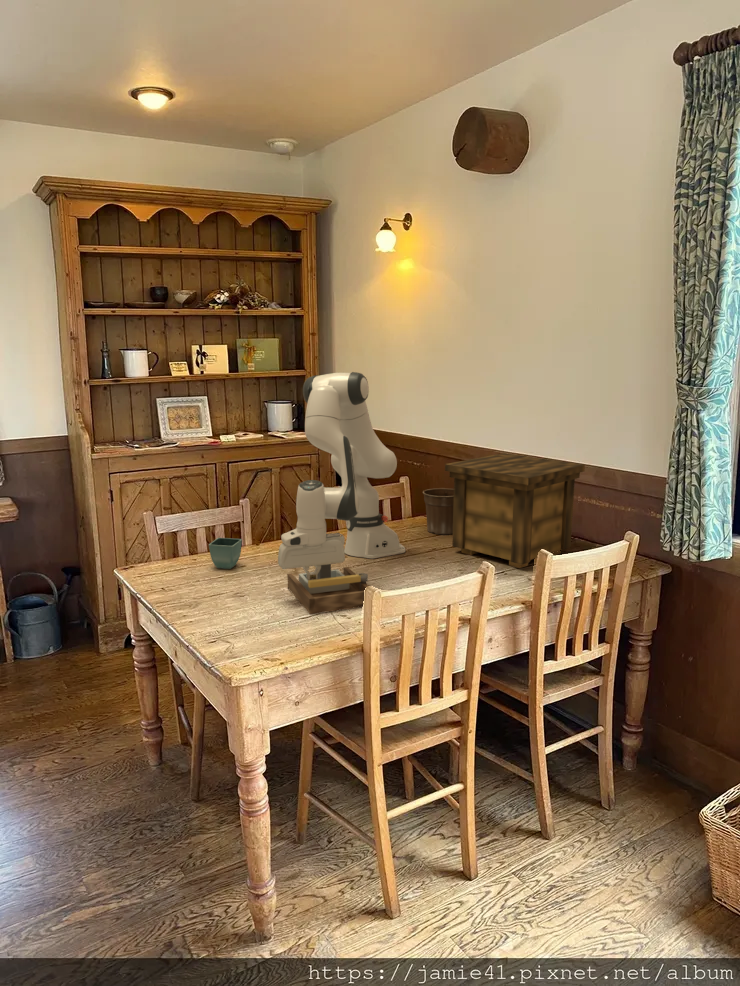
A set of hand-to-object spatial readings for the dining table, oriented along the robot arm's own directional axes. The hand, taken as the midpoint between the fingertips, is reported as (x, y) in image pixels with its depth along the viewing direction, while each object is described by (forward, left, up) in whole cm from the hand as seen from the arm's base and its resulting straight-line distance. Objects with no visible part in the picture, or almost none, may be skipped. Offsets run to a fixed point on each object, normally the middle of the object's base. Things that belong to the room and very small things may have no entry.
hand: (312, 579), depth 228 cm
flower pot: (+19, -39, -6) cm, 43 cm away
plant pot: (-71, -55, -6) cm, 90 cm away
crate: (-81, -19, -6) cm, 83 cm away
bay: (-5, +1, -6) cm, 8 cm away
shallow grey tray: (-5, -4, -4) cm, 8 cm away
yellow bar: (-7, +5, 0) cm, 9 cm away
